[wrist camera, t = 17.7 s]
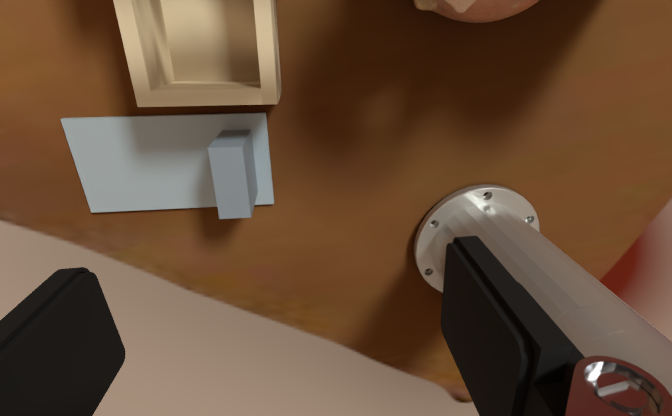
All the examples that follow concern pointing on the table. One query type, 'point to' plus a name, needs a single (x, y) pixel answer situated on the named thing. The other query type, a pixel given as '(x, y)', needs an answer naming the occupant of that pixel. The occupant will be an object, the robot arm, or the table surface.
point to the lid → (173, 162)
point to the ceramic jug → (475, 9)
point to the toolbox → (201, 51)
